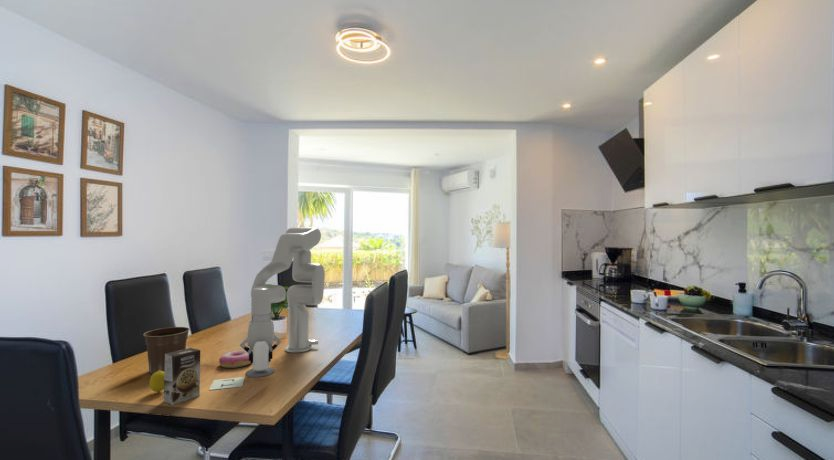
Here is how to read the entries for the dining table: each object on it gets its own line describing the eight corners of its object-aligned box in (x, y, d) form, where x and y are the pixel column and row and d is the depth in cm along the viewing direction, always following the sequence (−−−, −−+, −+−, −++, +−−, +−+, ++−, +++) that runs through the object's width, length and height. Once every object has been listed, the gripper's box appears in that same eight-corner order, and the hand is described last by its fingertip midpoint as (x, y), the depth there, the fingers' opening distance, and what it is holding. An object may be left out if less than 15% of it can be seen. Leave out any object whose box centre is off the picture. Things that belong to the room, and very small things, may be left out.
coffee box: (172, 405, 129) (173, 356, 129) (163, 401, 132) (163, 353, 132) (200, 396, 136) (201, 349, 137) (190, 392, 140) (191, 346, 140)
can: (272, 366, 163) (272, 337, 163) (264, 371, 157) (264, 341, 157) (257, 365, 164) (257, 336, 164) (249, 370, 157) (249, 341, 157)
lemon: (155, 390, 141) (155, 367, 141) (171, 389, 142) (171, 367, 142) (145, 396, 136) (146, 373, 136) (162, 395, 136) (162, 372, 136)
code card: (244, 377, 154) (244, 376, 154) (242, 386, 145) (242, 386, 145) (213, 380, 151) (213, 379, 151) (209, 390, 141) (209, 389, 141)
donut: (260, 361, 174) (260, 350, 174) (238, 371, 162) (238, 359, 162) (236, 358, 178) (236, 347, 178) (212, 367, 166) (212, 356, 166)
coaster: (274, 366, 167) (274, 365, 167) (274, 375, 157) (274, 374, 157) (246, 369, 163) (246, 368, 163) (244, 378, 153) (244, 377, 153)
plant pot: (132, 374, 157) (133, 333, 158) (170, 361, 173) (171, 325, 173) (161, 379, 152) (162, 337, 152) (198, 366, 167) (198, 328, 167)
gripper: (283, 314, 167) (283, 356, 167) (239, 317, 161) (238, 361, 161) (283, 318, 160) (283, 362, 159) (236, 321, 154) (236, 367, 154)
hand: (260, 361), depth 160 cm, fingers closed on can, 6 cm apart
